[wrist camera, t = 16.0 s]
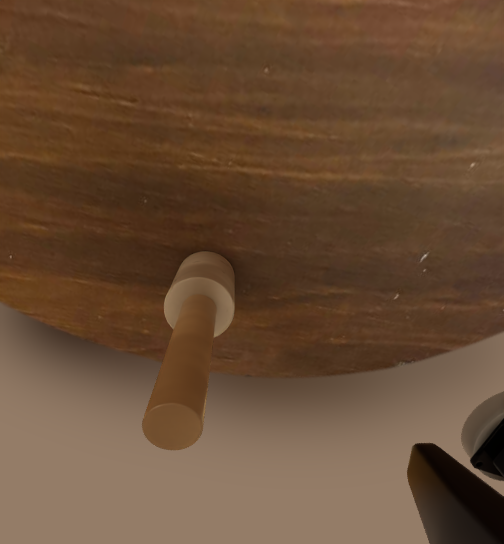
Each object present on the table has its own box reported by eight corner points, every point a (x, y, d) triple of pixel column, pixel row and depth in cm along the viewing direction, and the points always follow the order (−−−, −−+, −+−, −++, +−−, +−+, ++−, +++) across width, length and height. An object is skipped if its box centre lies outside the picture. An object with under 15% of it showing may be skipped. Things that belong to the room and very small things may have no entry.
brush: (243, 263, 19) (251, 399, 9) (222, 311, 20) (208, 484, 10) (188, 242, 19) (130, 361, 8) (170, 292, 20) (97, 455, 9)
